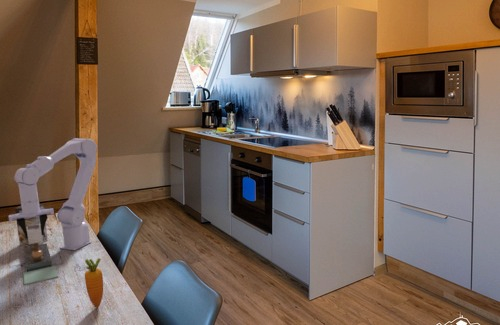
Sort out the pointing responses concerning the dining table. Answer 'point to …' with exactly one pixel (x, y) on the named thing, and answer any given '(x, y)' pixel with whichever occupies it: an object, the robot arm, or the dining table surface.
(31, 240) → the lever cap
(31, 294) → the dining table surface
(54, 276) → the mat
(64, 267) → the dining table surface
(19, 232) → the coffee box
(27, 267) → the hand plane
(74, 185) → the robot arm
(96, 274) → the carrot
